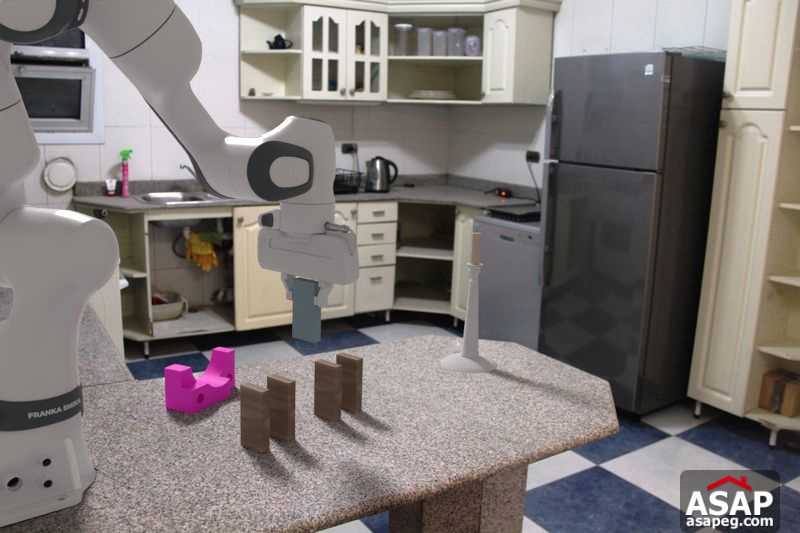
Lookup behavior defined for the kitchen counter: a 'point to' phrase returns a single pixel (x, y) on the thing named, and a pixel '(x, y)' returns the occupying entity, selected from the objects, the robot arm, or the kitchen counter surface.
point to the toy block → (200, 383)
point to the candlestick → (471, 324)
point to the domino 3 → (306, 310)
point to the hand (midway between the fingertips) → (306, 303)
